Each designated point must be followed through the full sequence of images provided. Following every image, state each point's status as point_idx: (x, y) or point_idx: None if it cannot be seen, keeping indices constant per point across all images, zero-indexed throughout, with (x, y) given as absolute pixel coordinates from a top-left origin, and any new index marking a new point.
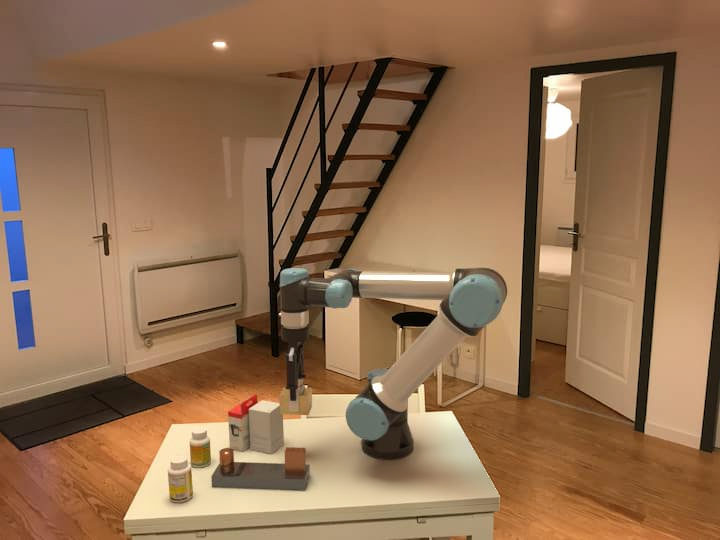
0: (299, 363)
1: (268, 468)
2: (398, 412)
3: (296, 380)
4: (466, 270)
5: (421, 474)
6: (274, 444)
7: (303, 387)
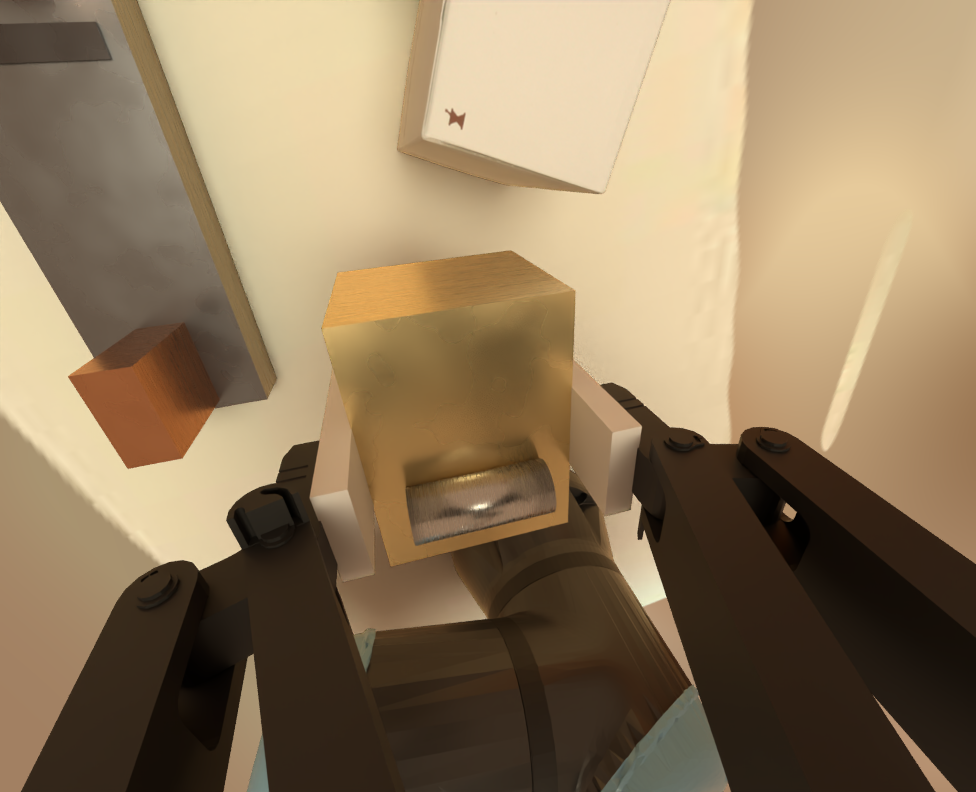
0: (724, 736)
1: (136, 229)
2: None
3: (229, 752)
4: None
5: (392, 621)
6: (432, 161)
7: (495, 526)
